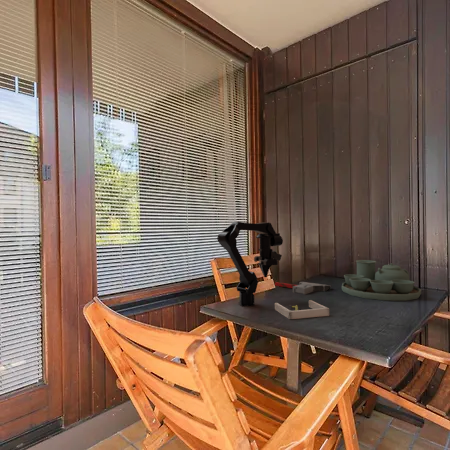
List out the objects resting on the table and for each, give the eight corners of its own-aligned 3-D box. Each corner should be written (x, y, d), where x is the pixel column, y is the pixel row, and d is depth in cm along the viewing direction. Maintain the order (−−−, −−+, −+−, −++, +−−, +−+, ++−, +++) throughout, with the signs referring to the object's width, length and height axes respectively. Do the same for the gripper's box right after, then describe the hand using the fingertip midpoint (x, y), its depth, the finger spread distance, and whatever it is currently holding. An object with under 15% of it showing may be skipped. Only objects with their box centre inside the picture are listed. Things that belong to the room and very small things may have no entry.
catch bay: (289, 319, 126) (289, 311, 126) (274, 309, 141) (274, 303, 141) (329, 315, 130) (329, 308, 130) (311, 306, 145) (311, 300, 145)
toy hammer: (288, 277, 205) (331, 283, 185) (288, 283, 205) (331, 289, 185) (267, 283, 188) (312, 289, 167) (267, 289, 188) (312, 296, 167)
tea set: (328, 292, 176) (327, 263, 176) (364, 283, 201) (363, 258, 201) (401, 306, 145) (401, 271, 145) (433, 293, 169) (433, 264, 169)
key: (297, 309, 142) (297, 304, 142) (307, 317, 130) (307, 312, 130) (282, 310, 141) (282, 305, 141) (290, 318, 129) (290, 313, 129)
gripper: (287, 247, 151) (287, 279, 151) (272, 245, 169) (273, 273, 169) (266, 248, 148) (266, 280, 148) (253, 245, 166) (253, 274, 166)
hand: (265, 277), depth 158 cm, fingers closed
